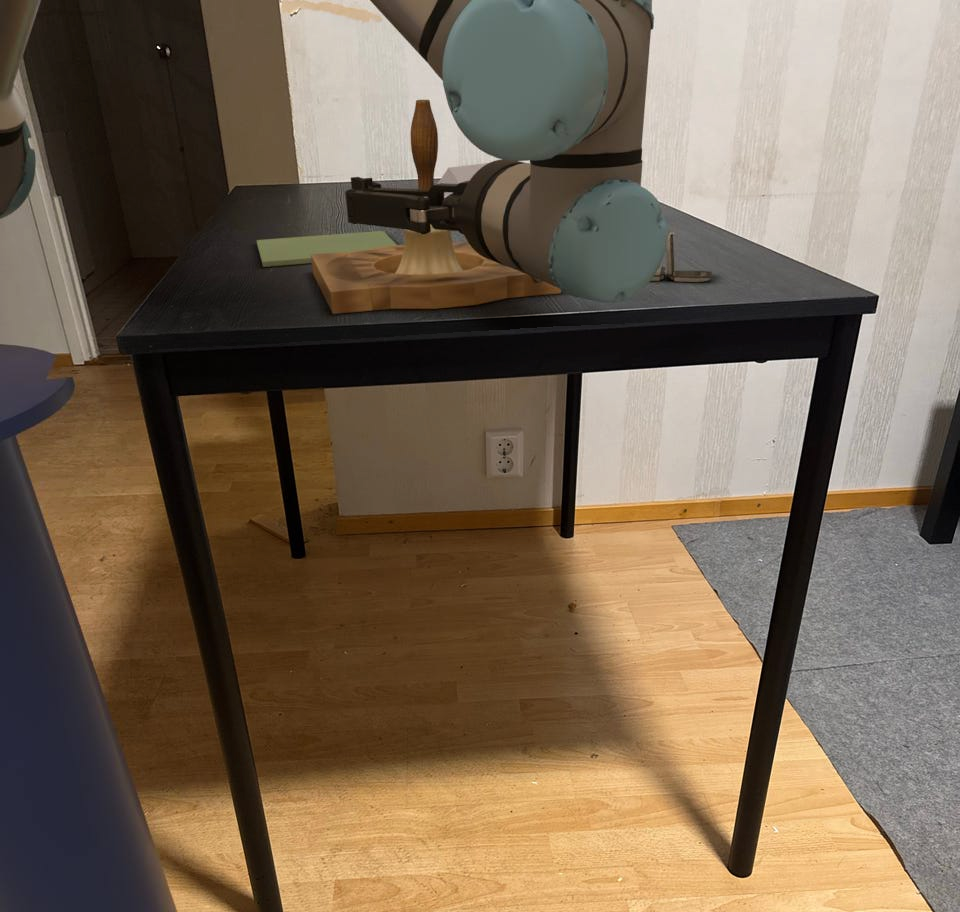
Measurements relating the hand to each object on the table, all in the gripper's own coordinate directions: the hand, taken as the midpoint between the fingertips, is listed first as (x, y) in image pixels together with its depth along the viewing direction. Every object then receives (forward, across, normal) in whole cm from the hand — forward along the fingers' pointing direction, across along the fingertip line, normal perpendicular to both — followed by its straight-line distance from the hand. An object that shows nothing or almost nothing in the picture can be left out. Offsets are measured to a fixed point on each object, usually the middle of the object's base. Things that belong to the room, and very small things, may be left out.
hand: (422, 187), depth 85 cm
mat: (+22, -4, -9) cm, 24 cm away
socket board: (-1, 0, -9) cm, 9 cm away
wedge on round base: (+32, +18, -9) cm, 37 cm away
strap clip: (-12, +21, -9) cm, 26 cm away
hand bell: (-1, 0, -9) cm, 9 cm away
